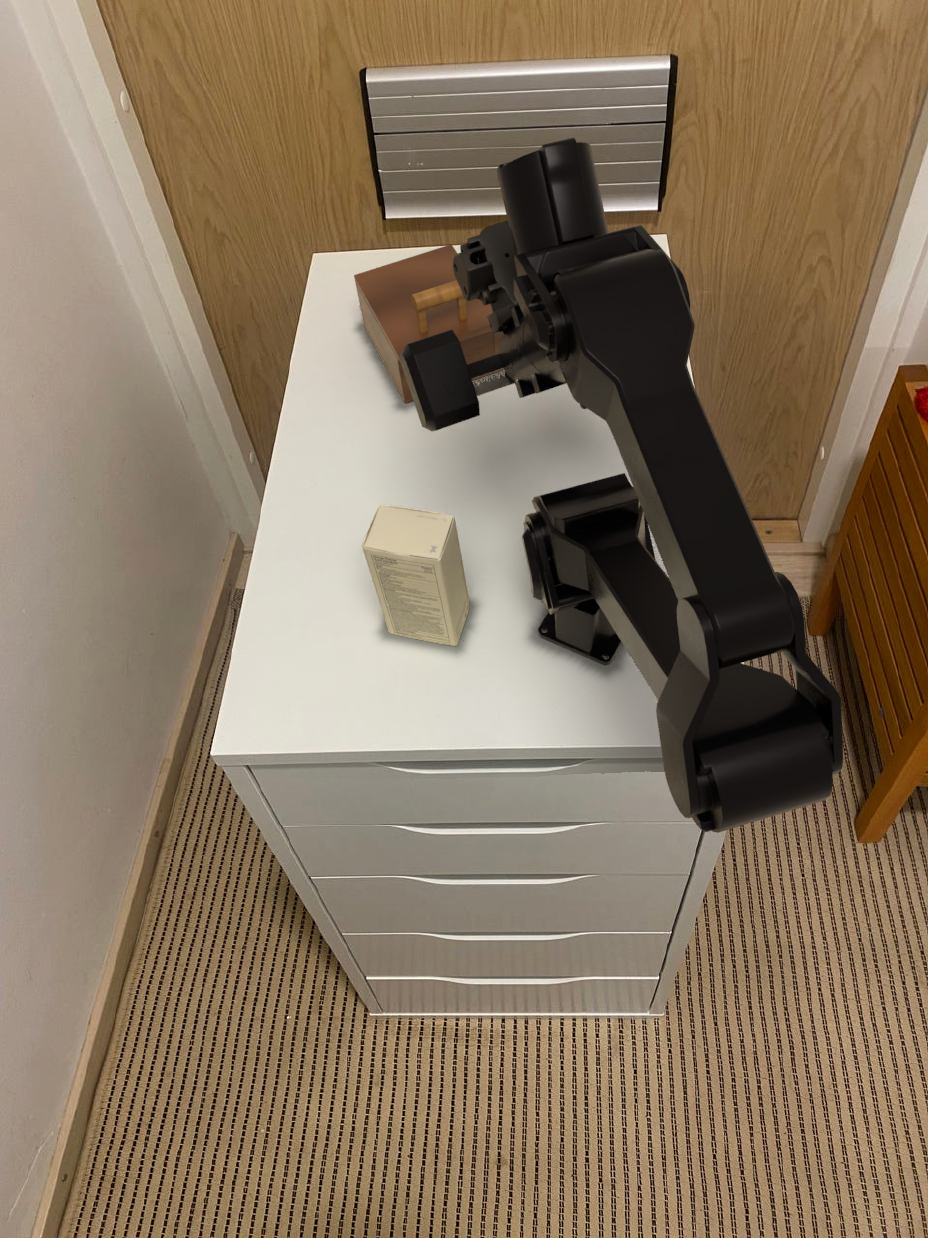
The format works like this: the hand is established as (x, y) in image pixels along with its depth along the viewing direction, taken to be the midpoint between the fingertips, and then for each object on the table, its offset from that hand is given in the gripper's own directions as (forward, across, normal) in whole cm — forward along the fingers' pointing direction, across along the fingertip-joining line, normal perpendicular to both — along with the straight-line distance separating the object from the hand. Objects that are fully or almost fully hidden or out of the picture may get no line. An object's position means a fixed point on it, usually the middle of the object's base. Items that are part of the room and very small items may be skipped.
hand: (504, 362), depth 76 cm
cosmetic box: (+2, +13, +18) cm, 22 cm away
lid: (+19, 0, -8) cm, 21 cm away
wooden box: (+24, 0, -4) cm, 24 cm away
